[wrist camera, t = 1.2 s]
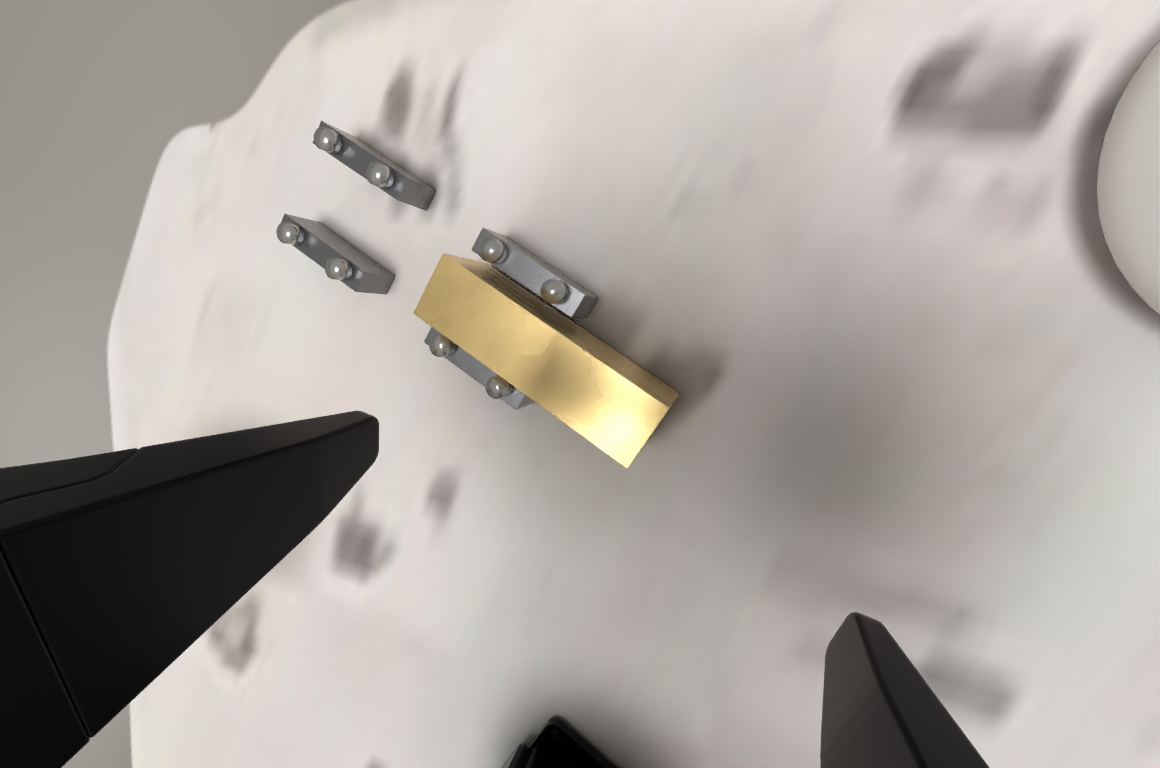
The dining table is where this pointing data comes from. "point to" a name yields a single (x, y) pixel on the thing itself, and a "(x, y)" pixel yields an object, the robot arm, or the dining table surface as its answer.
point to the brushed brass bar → (546, 356)
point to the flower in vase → (1134, 182)
